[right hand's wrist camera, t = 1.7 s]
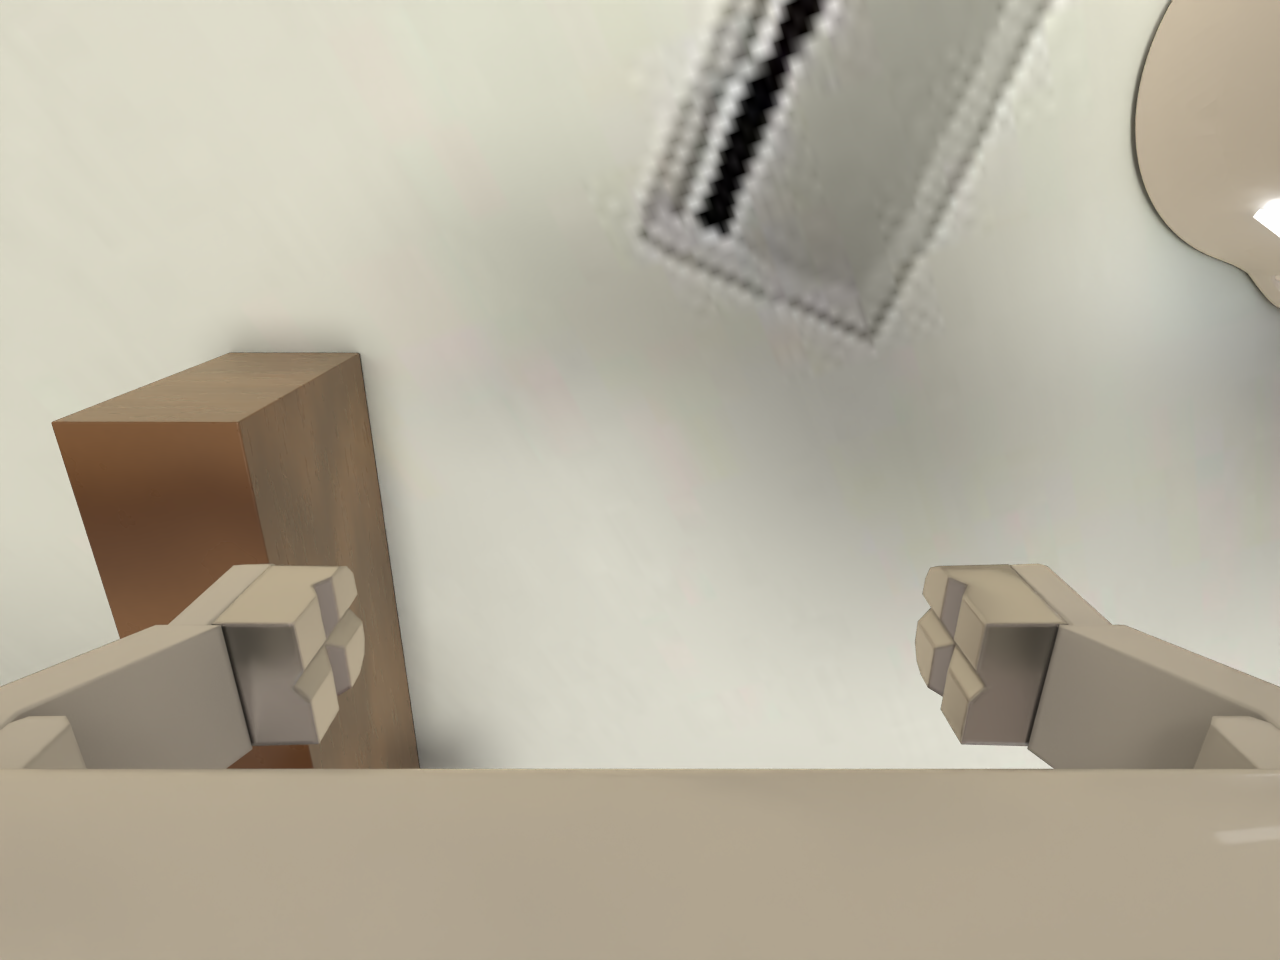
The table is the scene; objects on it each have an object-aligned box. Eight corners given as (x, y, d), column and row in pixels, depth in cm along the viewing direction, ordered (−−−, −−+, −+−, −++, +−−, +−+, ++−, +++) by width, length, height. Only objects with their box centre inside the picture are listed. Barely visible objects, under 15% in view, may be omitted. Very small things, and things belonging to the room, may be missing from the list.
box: (228, 352, 33) (49, 422, 23) (359, 352, 33) (237, 422, 23) (324, 798, 43) (228, 981, 33) (424, 798, 43) (359, 981, 33)
